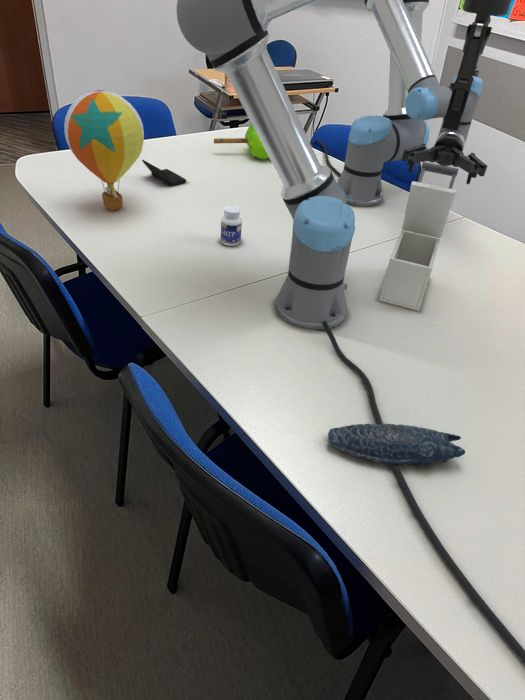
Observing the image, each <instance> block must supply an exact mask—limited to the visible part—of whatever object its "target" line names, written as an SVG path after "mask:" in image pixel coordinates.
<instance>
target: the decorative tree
mask: <svg viewBox="0 0 525 700" xmlns="http://www.w3.org/2000/svg"><path fill="white" fill-rule="evenodd" d="M213 144H246V145H247V147H248V149H249V151H250V153H251V155H252V156H253V157H255V158H258V160H259V159H260V160H263V161H264V160H266V159H268V158H269V156H268V154H267V152H266V150H265V148H264V146H263V144H262V142H261V140H260V139H259V137H258V135H257V133H256V131H255V129H254V127H253V125H252V124H251V125H249V126H248V128H247V130H246V132H245V134H244V137H243V138H242V137H237V138H235V137H234V138H233V137H231V138H230V137H227V138H226V137H225V138H223V137H222V138H213ZM269 159H270V158H269Z"/></svg>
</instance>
